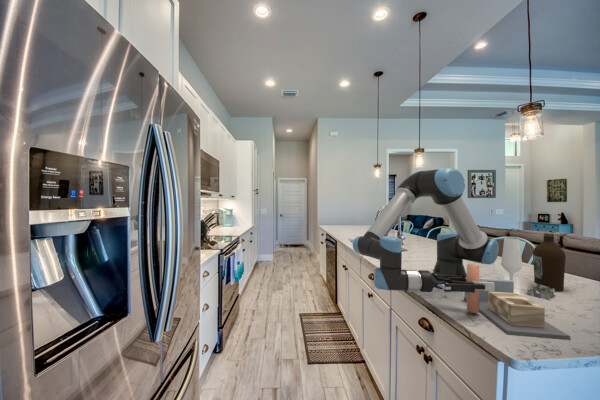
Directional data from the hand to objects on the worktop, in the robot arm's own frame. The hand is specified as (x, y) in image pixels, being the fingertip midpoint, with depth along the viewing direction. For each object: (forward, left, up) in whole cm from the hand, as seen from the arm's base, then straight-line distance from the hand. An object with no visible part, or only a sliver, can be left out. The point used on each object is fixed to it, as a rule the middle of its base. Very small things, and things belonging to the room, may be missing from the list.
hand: (489, 284), depth 85 cm
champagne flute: (+7, +27, -11) cm, 30 cm away
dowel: (-5, -3, -10) cm, 11 cm away
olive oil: (+21, +52, -11) cm, 57 cm away
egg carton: (+17, +38, -11) cm, 43 cm away
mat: (+5, +3, -11) cm, 12 cm away
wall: (-1, +13, -10) cm, 16 cm away
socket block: (+6, 0, -9) cm, 11 cm away
